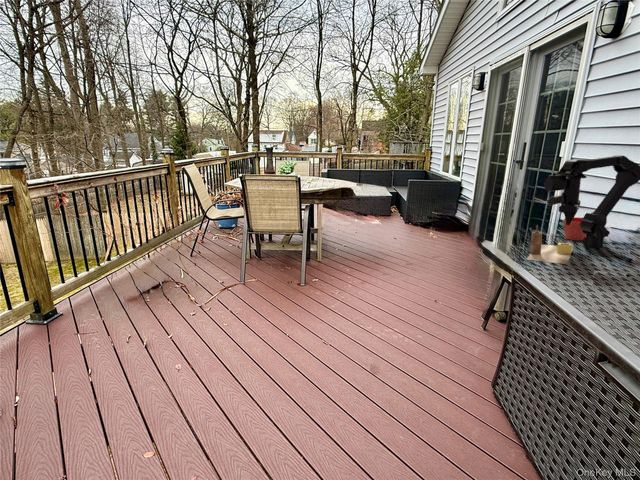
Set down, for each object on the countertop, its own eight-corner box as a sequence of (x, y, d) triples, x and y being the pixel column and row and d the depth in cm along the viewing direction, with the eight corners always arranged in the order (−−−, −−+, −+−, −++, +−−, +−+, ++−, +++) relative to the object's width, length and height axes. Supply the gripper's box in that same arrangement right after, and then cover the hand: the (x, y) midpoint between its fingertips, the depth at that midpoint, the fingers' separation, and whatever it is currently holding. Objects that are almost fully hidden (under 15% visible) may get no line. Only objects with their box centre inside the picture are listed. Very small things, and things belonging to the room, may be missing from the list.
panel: (584, 250, 151) (584, 248, 151) (579, 267, 132) (579, 265, 132) (527, 245, 165) (527, 243, 165) (515, 260, 146) (515, 258, 146)
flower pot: (563, 240, 167) (565, 221, 165) (560, 235, 177) (562, 217, 174) (590, 241, 162) (592, 221, 160) (585, 236, 172) (587, 217, 169)
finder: (571, 251, 148) (572, 243, 147) (570, 253, 145) (571, 245, 145) (558, 250, 152) (558, 242, 151) (556, 252, 149) (557, 244, 148)
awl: (541, 253, 149) (543, 224, 147) (539, 255, 147) (540, 226, 144) (532, 252, 152) (533, 224, 149) (529, 253, 150) (530, 225, 147)
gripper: (552, 186, 158) (549, 219, 162) (546, 192, 145) (543, 227, 149) (582, 186, 151) (578, 220, 155) (578, 192, 138) (574, 229, 141)
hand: (568, 224), depth 150 cm, fingers closed
